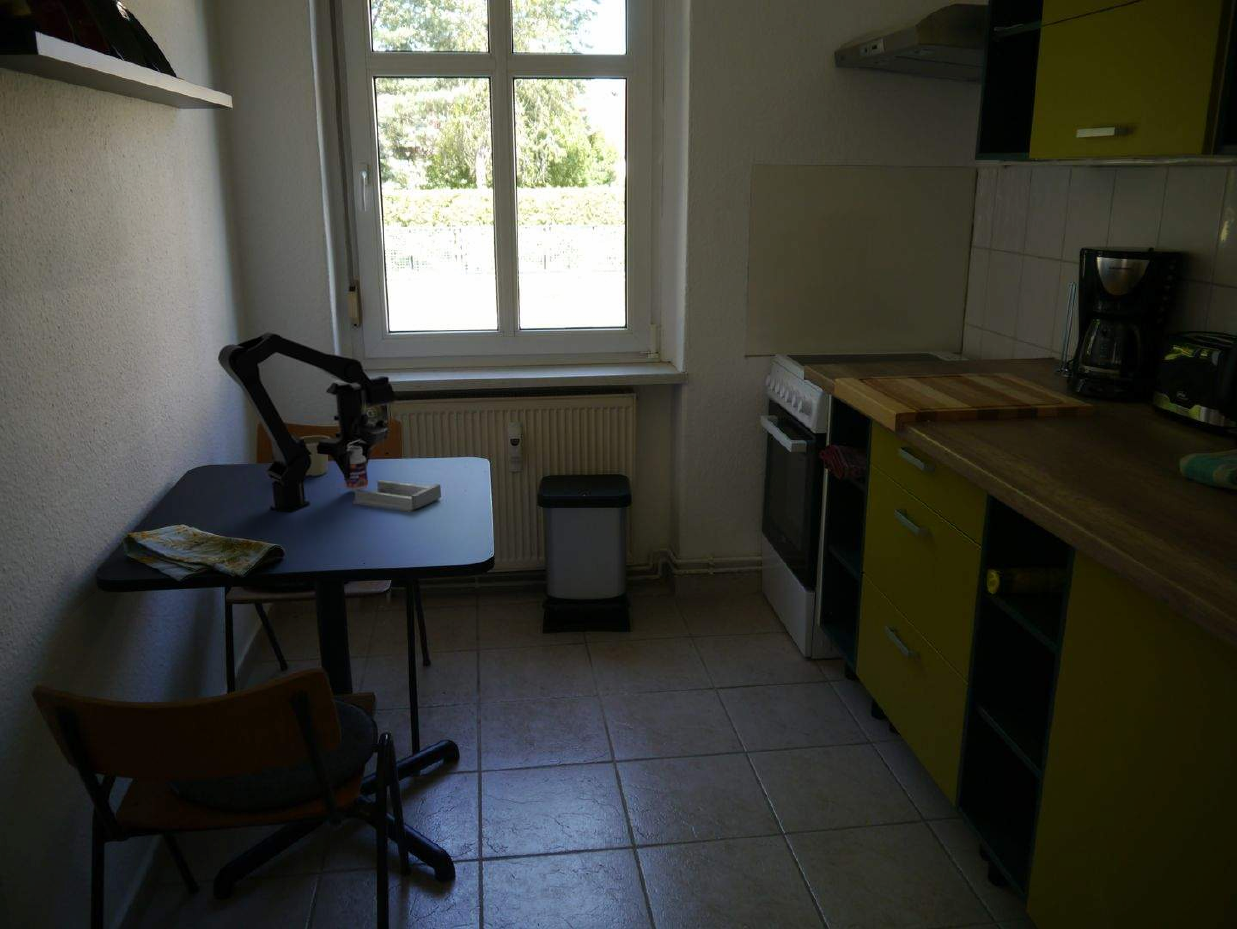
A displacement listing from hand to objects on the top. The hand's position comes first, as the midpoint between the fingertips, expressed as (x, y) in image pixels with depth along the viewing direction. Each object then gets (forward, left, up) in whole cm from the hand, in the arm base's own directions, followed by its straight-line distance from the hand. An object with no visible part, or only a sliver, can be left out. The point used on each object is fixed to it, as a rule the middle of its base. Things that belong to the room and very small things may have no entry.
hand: (355, 475), depth 244 cm
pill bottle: (0, 0, -3) cm, 3 cm away
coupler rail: (-2, -13, -4) cm, 14 cm away
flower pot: (+9, +21, -4) cm, 23 cm away
